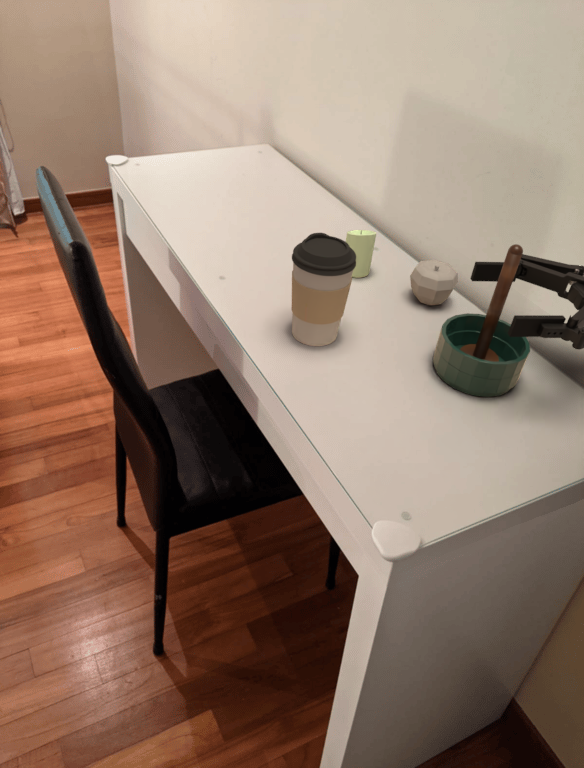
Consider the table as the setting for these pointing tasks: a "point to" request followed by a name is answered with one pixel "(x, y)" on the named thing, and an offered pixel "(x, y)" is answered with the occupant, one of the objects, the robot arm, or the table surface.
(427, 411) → the table surface
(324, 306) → the coffee cup
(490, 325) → the paper towel holder
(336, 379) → the table surface
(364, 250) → the candle
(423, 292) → the beige faceted lump
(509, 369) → the bowl
